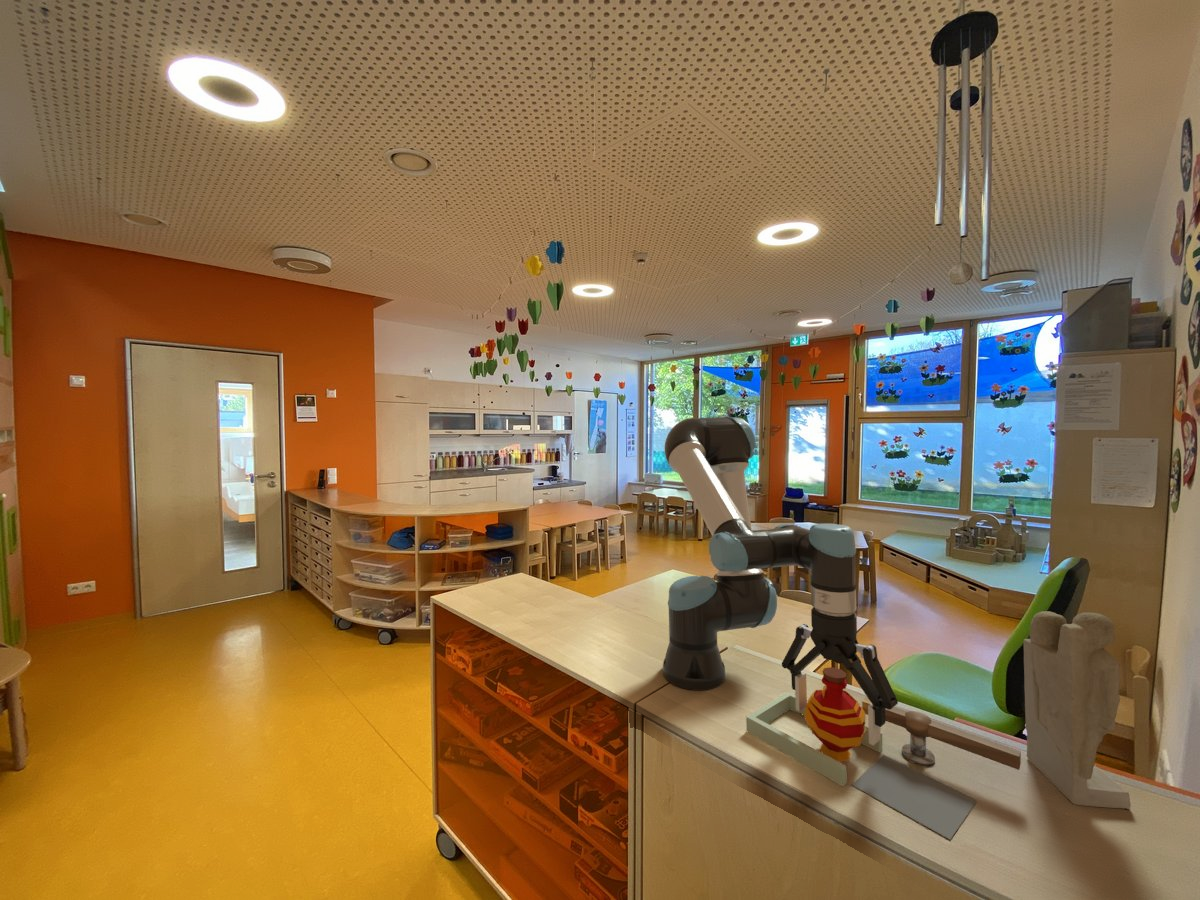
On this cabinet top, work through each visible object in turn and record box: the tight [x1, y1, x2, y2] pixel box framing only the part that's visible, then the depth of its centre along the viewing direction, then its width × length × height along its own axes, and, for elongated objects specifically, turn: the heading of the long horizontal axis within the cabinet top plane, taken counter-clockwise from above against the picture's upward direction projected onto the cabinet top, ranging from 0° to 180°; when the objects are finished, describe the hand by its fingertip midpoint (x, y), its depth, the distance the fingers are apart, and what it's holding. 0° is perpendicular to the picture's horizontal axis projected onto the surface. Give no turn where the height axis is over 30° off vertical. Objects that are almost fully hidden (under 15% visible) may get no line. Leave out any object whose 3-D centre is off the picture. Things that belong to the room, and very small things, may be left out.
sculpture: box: [1023, 610, 1131, 810], centre depth 79 cm, size 15×8×30 cm, turn 168°
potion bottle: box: [804, 666, 866, 762], centre depth 89 cm, size 10×10×15 cm
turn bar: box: [861, 696, 1022, 771], centre depth 86 cm, size 4×23×2 cm, turn 44°
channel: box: [745, 691, 883, 787], centre depth 93 cm, size 19×15×3 cm
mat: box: [851, 754, 978, 841], centre depth 79 cm, size 14×12×1 cm
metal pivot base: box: [901, 733, 936, 767], centre depth 88 cm, size 5×5×4 cm
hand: (835, 723), depth 89 cm, fingers open, 13 cm apart
